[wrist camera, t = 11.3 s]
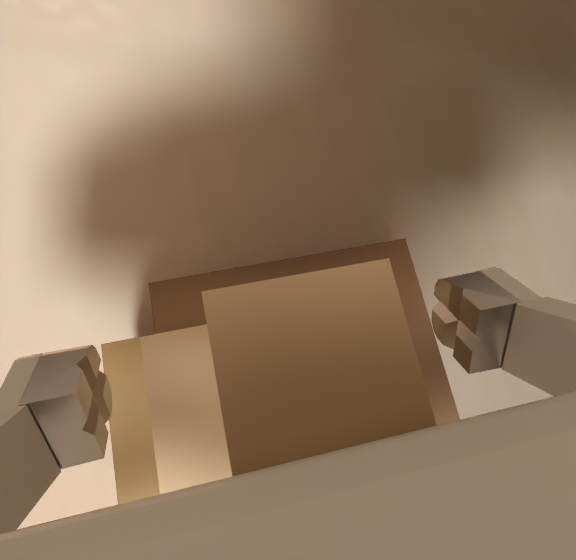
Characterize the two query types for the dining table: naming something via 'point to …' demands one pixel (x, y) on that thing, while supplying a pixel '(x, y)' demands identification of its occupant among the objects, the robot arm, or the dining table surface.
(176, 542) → the robot arm
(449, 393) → the board
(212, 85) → the dining table surface
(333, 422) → the stacked wooden blocks
